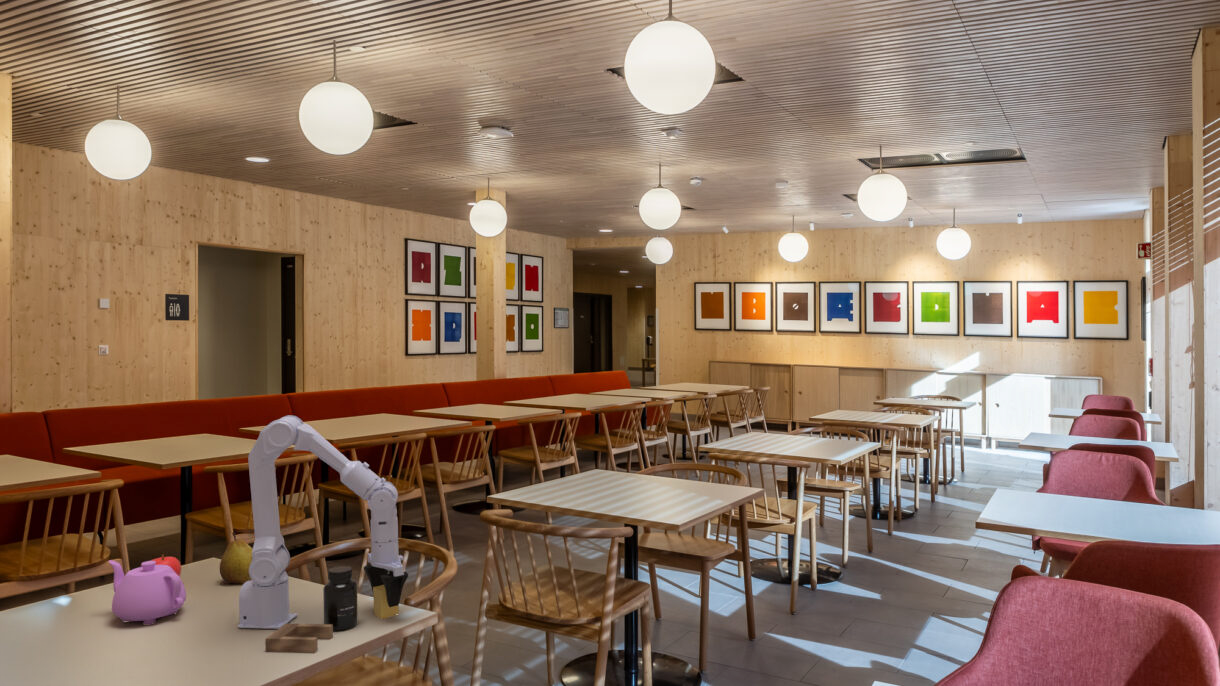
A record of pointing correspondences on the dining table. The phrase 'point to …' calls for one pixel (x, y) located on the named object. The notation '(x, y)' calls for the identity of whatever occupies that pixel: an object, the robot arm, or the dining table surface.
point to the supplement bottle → (340, 599)
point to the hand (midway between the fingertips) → (386, 601)
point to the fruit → (236, 562)
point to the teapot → (146, 592)
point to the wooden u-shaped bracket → (298, 637)
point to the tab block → (383, 603)
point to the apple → (169, 563)
